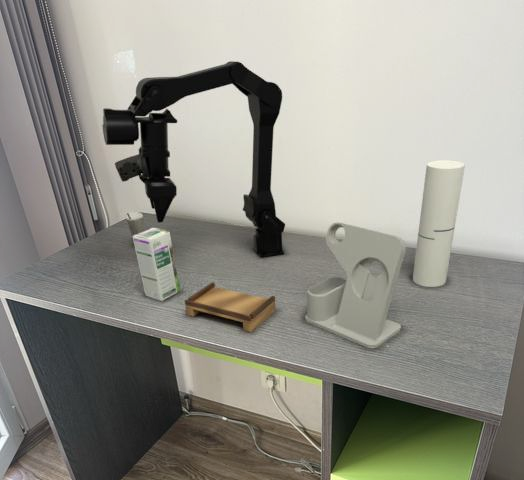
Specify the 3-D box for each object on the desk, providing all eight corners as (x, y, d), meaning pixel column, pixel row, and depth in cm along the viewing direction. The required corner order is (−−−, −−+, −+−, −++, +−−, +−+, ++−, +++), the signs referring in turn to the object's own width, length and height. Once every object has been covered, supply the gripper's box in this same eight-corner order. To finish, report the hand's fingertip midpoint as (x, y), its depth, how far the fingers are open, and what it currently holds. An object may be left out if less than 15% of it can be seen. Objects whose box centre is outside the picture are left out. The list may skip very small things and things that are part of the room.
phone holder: (300, 319, 99) (299, 233, 90) (332, 301, 105) (334, 218, 95) (373, 350, 89) (380, 255, 79) (404, 328, 94) (414, 237, 85)
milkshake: (127, 248, 138) (119, 212, 133) (136, 241, 142) (130, 206, 137) (141, 249, 137) (134, 213, 131) (151, 242, 141) (144, 207, 136)
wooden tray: (275, 311, 103) (275, 296, 101) (251, 332, 96) (249, 317, 94) (213, 296, 110) (212, 282, 108) (186, 315, 103) (184, 300, 102)
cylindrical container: (447, 287, 108) (467, 168, 94) (413, 286, 109) (428, 168, 95) (444, 273, 113) (462, 160, 100) (411, 272, 115) (425, 160, 101)
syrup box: (162, 302, 109) (150, 239, 101) (144, 295, 112) (131, 234, 104) (180, 292, 113) (170, 230, 105) (162, 286, 116) (151, 226, 108)
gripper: (112, 134, 111) (117, 202, 120) (119, 155, 97) (125, 231, 106) (162, 135, 115) (163, 201, 123) (176, 155, 100) (177, 229, 109)
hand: (157, 215), depth 115 cm, fingers open, 9 cm apart
